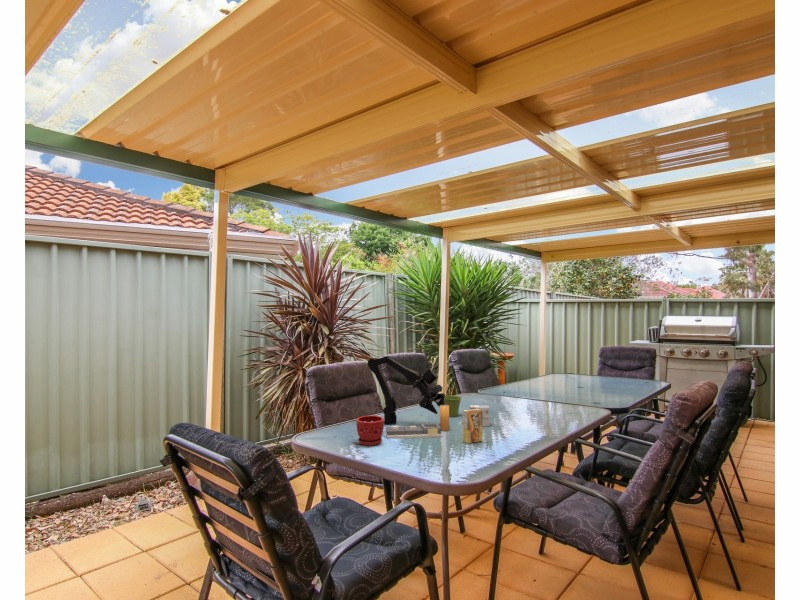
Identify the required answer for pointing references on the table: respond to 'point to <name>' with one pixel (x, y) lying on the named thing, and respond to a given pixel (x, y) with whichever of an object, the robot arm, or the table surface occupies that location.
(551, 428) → the table surface
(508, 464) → the table surface
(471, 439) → the candy box
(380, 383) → the robot arm
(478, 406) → the light bulb box
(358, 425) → the plant pot
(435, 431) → the breaker panel
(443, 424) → the cap
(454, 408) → the plant pot
